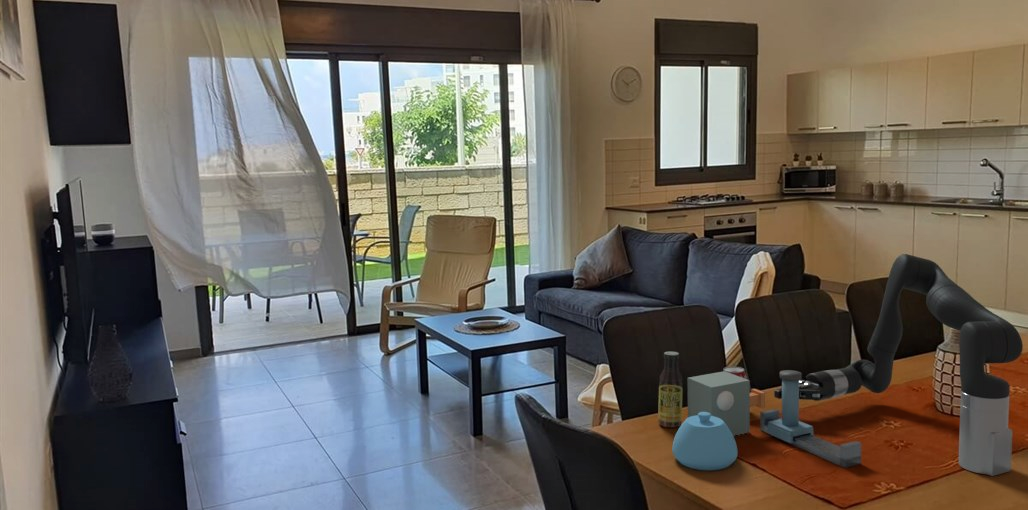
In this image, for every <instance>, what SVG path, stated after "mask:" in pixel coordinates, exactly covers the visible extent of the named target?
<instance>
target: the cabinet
mask: <svg viewBox="0 0 1028 510" xmlns="http://www.w3.org/2000/svg"><path fill="white" fill-rule="evenodd" d="M686 378H687V379H686V380H687V381H686V382H687V418H688V417H691V416H696V415H698V413H700V412H708V413H710V414H711V416H714V417H718V418H720V419H722V420H723V421H724V422H725V424H726V425H727V427H728V428H729V430H730V431H731V433H732V435H733V437H736V436H735V435H738V436H741V435H740V434H742V435H744V434H743V433H747V434H749V433H748V432H750V431H751V429H750V424H751V422H750V421H751V419H750V418H751V417H750V414H751V412H750V409H751V408H750V393H751V389H750V387H751V385H750V383H751V381H750V379H748V378H747V379H744V378H742V377H739V376H736V375H733V374H731V373H728V372H725V371H724V370H722V371H718V372H717V371H716V372H713V373H706V374H700V375H696V376H691V377H686ZM750 433H751V432H750Z"/></svg>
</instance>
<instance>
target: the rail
mask: <svg viewBox="0 0 1028 510" xmlns="http://www.w3.org/2000/svg"><path fill="white" fill-rule="evenodd" d="M759 416H760V417H759V421H760V423H759V424H760V428H759V429H760V430H762V431H761V432H763V431H764V432H763V433H765V432H766V433H765V434H767V433H768V422H769V421H774V420H779V419H781V417H780V410H779V409H777V408H774V409H773V408H772V409H768V410H764V411H760V415H759ZM769 436H772V437H774V438H776V439H778V440H780V441H783V442H785V443H787V444H790V445H792V446H794V447H797V448H799V449H800V450H803V451H806V452H808V453H810V454H812V455H815V456H817V457H819V458H821V459H824V460H826V461H829V462H830V463H833V464H834V465H838V466H840V467H841V468H844V469H846V468H851V467H854V466H857V465H861V464H862V442H860V441H857V440H854V441H849V442H846V443H842V444H839V445H837V444H835V443H832V442H829V441H828V440H824V439H823V438H821V437H817V436H816V435H814V434H813V435H811V434H808V433H807V434H803V435H798V436H794V437H793V443H789V442H786V441H784V440H782V439H780V438H777V437H775V436H773V435H771V434H770V435H769Z"/></svg>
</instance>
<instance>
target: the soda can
mask: <svg viewBox="0 0 1028 510" xmlns="http://www.w3.org/2000/svg"><path fill="white" fill-rule="evenodd" d="M722 371H725V372H728V373H731V374H733V375H736V376H739V377H742V378H744V379H747V380H748V375H747V373H746V372H745V371H746V369H745V368H743V367H742V366H741V367H740V366H733V365H731V366H725V367H724V368H723V370H722Z"/></svg>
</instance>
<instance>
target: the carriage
mask: <svg viewBox="0 0 1028 510" xmlns="http://www.w3.org/2000/svg"><path fill="white" fill-rule="evenodd" d="M802 374H803V373H802V372H801V371H798V370H791V369H786V370H780V371H779V379H781V388H782V399H781V418H780V419H779V420H774V421H769V422H768V434H767V435H769V434H771V435H770V436H772V435H773V436H772V437H774V436H775V437H774V438H776V437H777V438H776V439H778V438H780V439H779V440H781V439H782V440H781V441H783V440H784V441H783V442H785V441H786V442H785V443H787V442H789V443H788V444H790V443H793V437H794V436H798V435H803V434H807V433H808V434H811V435H813V436H814V427H813V425H810V424H808V423H805V422H803V421H800V418H799V417H800V413H799V412H800V411H799V410H800V399H799V380H803V379H802Z"/></svg>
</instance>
